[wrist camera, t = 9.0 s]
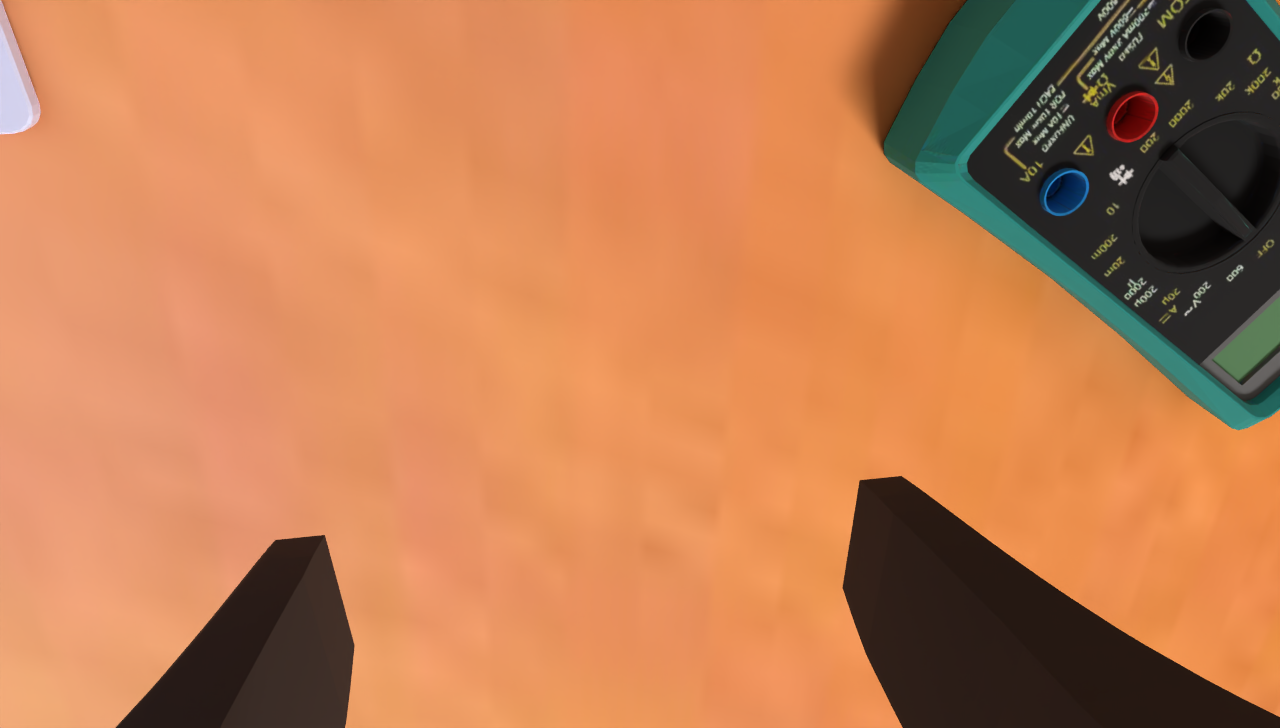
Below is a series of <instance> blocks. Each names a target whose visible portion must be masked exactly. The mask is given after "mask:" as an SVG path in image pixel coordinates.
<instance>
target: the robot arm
mask: <svg viewBox="0 0 1280 728" xmlns="http://www.w3.org/2000/svg"><path fill="white" fill-rule="evenodd" d="M40 114H41V111H40V104H39V101H38V98H37V95H36V93H35V90H34V87H33V85H32V82H31V79H30V77H29V74H28V71H27V68H26V66H25V63H24V60H23V58H22V55H21V52H20V50H19V47H18V44H17V42H16V39H15V36H14V33H13V31H12V28H11V25H10V23H9V20H8V17H7V15H6V12H5V9H4V6H3V4H2V1H1V0H0V134H14V133H18V132H22V131H25V130H27V129H29V128H31V127H32V126H34V125H35V124H36V123H37V122H38V120H39V117H40ZM843 590H844V593H845V596H846V599H847V602H848V605H849V608H850V611H851V614H852V617H853V620H854V623H855V625H856V628H857V631H858V633H859V636H860V639H861V642H862V644H863V647H864V650H865V652H866V655H867V657H868V659H869V661H870V663H871V665H872V667H873V669H874V671H875V673H876V675H877V677H878V679H879V681H880V683H881V685H882V687H883V689H884V691H885V693H886V695H887V697H888V699H889V702H890V704H891V706H892V708H893V709H894V711H895V713H896V715H897V717H898V719H899V721H900V723H901V725H902V727H903V728H1280V717H1278V716H1276V715H1274V714H1272V713H1270V712H1268V711H1266V710H1264V709H1262V708H1260V707H1258V706H1256V705H1254V704H1252V703H1250V702H1248V701H1246V700H1244V699H1242V698H1240V697H1238V696H1236V695H1234V694H1232V693H1231V692H1229V691H1227V690H1225V689H1223V688H1221V687H1219V686H1217V685H1215V684H1213V683H1211V682H1210V681H1208V680H1206V679H1204V678H1202V677H1200V676H1199V675H1197V674H1195V673H1193V672H1192V671H1190V670H1188V669H1186V668H1185V667H1183V666H1181V665H1179V664H1178V663H1176V662H1174V661H1172V660H1171V659H1169V658H1167V657H1165V656H1163V655H1162V654H1160V653H1158V652H1156V651H1155V650H1153V649H1151V648H1149V647H1148V646H1146V645H1144V644H1143V643H1141V642H1139V641H1138V640H1136V639H1134V638H1133V637H1131V636H1129V635H1128V634H1126V633H1124V632H1123V631H1121V630H1119V629H1118V628H1116V627H1115V626H1113V625H1111V624H1110V623H1108V622H1107V621H1105V620H1104V619H1102V618H1101V617H1099V616H1098V615H1096V614H1094V613H1093V612H1091V611H1090V610H1088V609H1087V608H1085V607H1084V606H1082V605H1081V604H1079V603H1078V602H1076V601H1074V600H1073V599H1071V598H1070V597H1068V596H1067V595H1065V594H1064V593H1062V592H1061V591H1059V590H1058V589H1056V588H1055V587H1054V586H1052V585H1051V584H1049V583H1048V582H1046V581H1045V580H1043V579H1042V578H1040V577H1039V576H1038V575H1036V574H1035V573H1033V572H1032V571H1030V570H1029V569H1028V568H1026V567H1025V566H1023V565H1022V564H1021V563H1019V562H1018V561H1016V560H1015V559H1014V558H1012V557H1011V556H1009V555H1008V554H1007V553H1005V552H1004V551H1003V550H1001V549H1000V548H998V547H997V546H996V545H994V544H993V543H992V542H990V541H989V540H988V539H986V538H985V537H983V536H982V535H981V534H979V533H978V532H977V531H975V530H974V529H973V528H971V527H970V526H969V525H967V524H966V523H965V522H963V521H962V520H961V519H959V518H958V517H957V516H955V515H954V514H953V513H951V512H950V511H949V510H947V509H946V508H945V507H943V506H942V505H941V504H939V503H938V502H937V501H935V500H934V499H933V498H931V497H930V496H929V495H927V494H926V493H925V492H923V491H922V490H920V489H919V488H918V487H916V486H915V485H913V484H912V483H911V482H909V481H908V480H906V479H905V478H903V477H902V476H898V477H888V478H878V479H868V480H860V482H859V488H858V495H857V501H856V507H855V513H854V520H853V526H852V532H851V538H850V545H849V551H848V557H847V563H846V570H845V576H844V582H843ZM353 655H354V642H353V638H352V635H351V631H350V627H349V624H348V620H347V616H346V612H345V609H344V605H343V601H342V598H341V594H340V590H339V586H338V583H337V579H336V575H335V571H334V568H333V564H332V560H331V557H330V553H329V549H328V545H327V542H326V538H325V535H321V536H311V537H301V538H292V539H282V540H275V541H274V542H273V544H272V545H271V546H270V547H269V548H268V549H267V550H266V551H265V553H264V554H263V555H262V556H261V558H260V559H259V560H258V561H257V562H256V564H255V565H254V566H253V567H252V569H251V570H250V571H249V572H248V574H247V575H246V576H245V577H244V579H243V580H242V581H241V582H240V584H239V585H238V586H237V587H236V589H235V590H234V591H233V592H232V594H231V595H230V596H229V597H228V599H227V600H226V601H225V602H224V603H223V605H222V606H221V607H220V608H219V610H218V611H217V612H216V613H215V614H214V616H213V617H212V618H211V619H210V621H209V622H208V623H207V624H206V625H205V627H204V628H203V629H202V630H201V631H200V633H199V634H198V635H197V636H196V637H195V639H194V640H193V641H192V642H191V643H190V644H189V646H188V647H187V648H186V649H185V650H184V651H183V653H182V654H181V655H180V656H179V657H178V659H177V660H176V661H175V662H174V663H173V664H172V666H171V667H170V668H169V669H168V670H167V671H166V673H165V674H164V675H163V676H162V677H161V678H160V680H159V681H158V682H157V683H156V684H155V685H154V686H153V688H152V689H151V690H150V691H149V692H148V693H147V694H146V695H145V696H144V697H143V699H142V700H141V701H140V702H139V703H138V704H137V705H136V706H135V707H134V708H133V709H132V710H131V712H130V713H129V714H128V715H127V716H126V717H125V718H124V719H123V720H122V721H121V722H120V723H119V725H118V726H117V727H116V728H345V724H346V718H347V710H348V702H349V693H350V685H351V675H352V665H353Z"/></svg>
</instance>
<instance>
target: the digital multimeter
mask: <svg viewBox="0 0 1280 728" xmlns="http://www.w3.org/2000/svg"><path fill="white" fill-rule="evenodd" d="M1229 113H1232V114H1229ZM1256 113H1259V114H1256ZM1225 114H1228V115H1225ZM1222 115H1223V116H1222ZM1268 117H1269V118H1268ZM1270 118H1271V119H1270ZM884 154H885V156H886V157H887V159H888V160H889V162H890V163H892V164H893V165H895V166H896V167H898V168H899V169H900V170H902V171H903V172H905V173H906V174H908V175H909V176H910V177H912V178H913V179H915V180H916V181H918V182H919V183H920V184H922V185H923V186H925V187H926V188H928V189H929V190H931V191H932V192H933V193H935V194H936V195H938V196H939V197H941V198H942V199H943V200H945V201H946V202H948V203H949V204H951V205H952V206H954V207H955V208H956V209H958V210H959V211H961V212H962V213H964V214H965V215H966V216H968V217H969V218H970V219H972V220H973V221H975V222H976V223H977V224H979V225H980V226H981V227H983V228H984V229H985V230H987V231H988V232H989V233H991V234H992V235H993V236H995V237H996V238H998V239H999V240H1000V241H1002V242H1003V243H1004V244H1006V245H1007V246H1008V247H1010V248H1011V249H1012V250H1014V251H1015V252H1016V253H1018V254H1019V255H1021V256H1022V257H1023V258H1025V259H1026V260H1027V261H1029V262H1030V263H1031V264H1033V265H1034V266H1035V267H1037V268H1038V269H1039V270H1041V271H1042V272H1044V273H1045V274H1046V275H1048V276H1049V277H1050V278H1051V279H1053V280H1054V281H1055V282H1056V283H1057V284H1059V285H1060V286H1061V287H1062V288H1064V289H1065V290H1066V291H1067V292H1068V293H1070V294H1071V295H1072V296H1073V297H1074V298H1076V299H1077V300H1078V301H1079V302H1081V303H1082V304H1083V305H1084V306H1085V307H1087V308H1088V309H1089V310H1090V311H1091V312H1093V313H1094V314H1095V315H1096V316H1098V317H1099V318H1100V319H1101V320H1102V321H1104V322H1105V323H1106V324H1107V325H1108V326H1110V327H1111V328H1112V329H1113V330H1114V331H1116V332H1117V333H1118V334H1119V335H1120V336H1122V337H1123V338H1124V339H1125V340H1126V341H1127V342H1128V343H1129V344H1130V345H1131V346H1133V347H1134V348H1135V349H1136V350H1137V351H1138V352H1139V353H1140V354H1141V355H1142V356H1144V357H1145V358H1146V359H1147V360H1148V361H1149V362H1150V363H1151V364H1152V365H1153V366H1155V367H1156V368H1157V369H1158V370H1159V371H1160V372H1161V373H1162V374H1163V375H1164V376H1166V377H1167V378H1168V379H1169V380H1170V381H1171V382H1172V383H1173V384H1174V385H1175V386H1177V387H1178V388H1179V389H1180V390H1181V391H1182V392H1183V393H1184V394H1185V395H1187V396H1188V397H1189V398H1190V399H1192V400H1193V401H1194V402H1196V403H1197V404H1199V405H1200V406H1201V407H1203V408H1204V409H1206V410H1207V411H1208V412H1210V413H1211V414H1213V415H1214V416H1215V417H1217V418H1218V419H1220V420H1221V421H1222V422H1224V423H1225V424H1227V425H1228V426H1229V427H1231V428H1233V429H1236V430H1241V429H1245V428H1248V427H1250V426H1252V425H1254V424H1256V423H1258V422H1260V421H1262V420H1264V419H1266V418H1268V417H1270V416H1272V415H1273V414H1275V413H1276V412H1277V411H1278V410H1280V6H1279V5H1278V3H1277V2H1276V0H967V1H966V3H965V4H964V5H963V6H962V8H961V9H960V10H959V11H958V13H957V14H956V15H955V17H954V18H953V19H952V20H951V22H950V23H949V25H948V26H947V28H946V30H945V31H944V33H943V35H942V36H941V38H940V40H939V41H938V43H937V45H936V46H935V48H934V50H933V51H932V53H931V55H930V56H929V58H928V60H927V61H926V63H925V65H924V66H923V68H922V70H921V71H920V73H919V75H918V76H917V78H916V80H915V82H914V84H913V86H912V88H911V90H910V92H909V94H908V96H907V98H906V100H905V102H904V103H903V105H902V107H901V109H900V111H899V113H898V115H897V117H896V119H895V121H894V123H893V125H892V127H891V129H890V131H889V133H888V135H887V137H886V139H885V141H884ZM973 179H974V180H973ZM978 183H979V184H980V185H979V184H978ZM983 187H984V188H985V189H984V188H983ZM989 192H990V193H991V194H990V193H989ZM995 197H996V198H997V199H996V198H995ZM1000 201H1001V202H1002V203H1001V202H1000ZM1278 205H1279V206H1278ZM1006 206H1007V207H1008V208H1007V207H1006ZM1277 207H1278V208H1277ZM1276 209H1277V210H1276ZM1275 210H1276V212H1275ZM1012 211H1013V212H1014V213H1013V212H1012ZM1274 212H1275V213H1274ZM1273 214H1274V215H1273ZM1017 215H1018V216H1019V217H1020V218H1019V217H1018V216H1017ZM1272 215H1273V216H1272ZM1270 218H1271V219H1270ZM1023 220H1024V221H1025V222H1024V221H1023ZM1268 221H1269V222H1268ZM1267 222H1268V223H1267ZM1266 223H1267V225H1266ZM1029 225H1030V226H1031V227H1030V226H1029ZM1265 225H1266V226H1265ZM1264 226H1265V227H1264ZM1263 227H1264V228H1263ZM1262 228H1263V229H1262ZM1035 230H1036V231H1035ZM1258 233H1259V234H1258ZM1040 234H1041V235H1042V236H1041V235H1040ZM1257 234H1258V235H1257ZM1256 235H1257V236H1256ZM1255 236H1256V237H1255ZM1254 237H1255V238H1254ZM1253 238H1254V239H1253ZM1046 239H1047V240H1046ZM1252 239H1253V240H1252ZM1251 240H1252V241H1251ZM1250 241H1251V242H1250ZM1052 244H1053V245H1052ZM1245 245H1246V246H1245ZM1244 246H1245V247H1244ZM1243 247H1244V248H1243ZM1057 248H1058V249H1057ZM1242 248H1243V249H1242ZM1240 249H1241V250H1240ZM1239 250H1240V251H1239ZM1238 251H1239V252H1238ZM1236 252H1237V253H1236ZM1139 253H1140V254H1139ZM1235 253H1236V254H1235ZM1232 255H1233V256H1232ZM1230 256H1231V257H1230ZM1229 257H1230V258H1229ZM1227 258H1228V259H1227ZM1225 259H1227V260H1225ZM1224 260H1225V261H1224ZM1222 261H1223V262H1222ZM1220 262H1221V263H1220ZM1148 263H1149V264H1148ZM1218 263H1219V264H1218ZM1216 264H1217V265H1216ZM1213 265H1214V266H1213ZM1211 266H1212V267H1211ZM1208 267H1210V268H1208ZM1156 268H1157V269H1156ZM1206 268H1207V269H1206ZM1158 269H1159V270H1158ZM1203 269H1204V270H1203ZM1199 270H1200V271H1199ZM1195 271H1197V272H1195ZM1168 272H1170V273H1168ZM1190 272H1191V273H1190ZM1180 273H1183V274H1180Z"/></svg>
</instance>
